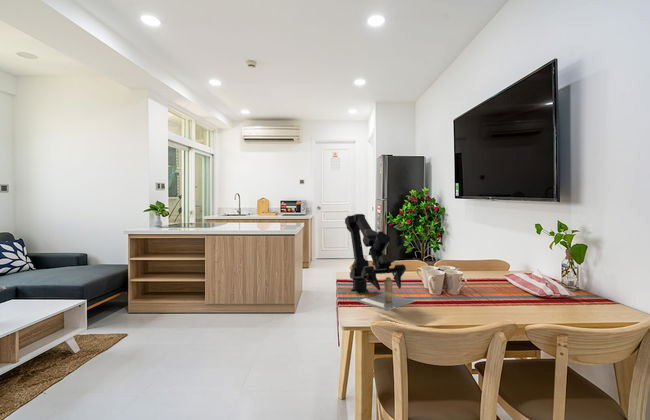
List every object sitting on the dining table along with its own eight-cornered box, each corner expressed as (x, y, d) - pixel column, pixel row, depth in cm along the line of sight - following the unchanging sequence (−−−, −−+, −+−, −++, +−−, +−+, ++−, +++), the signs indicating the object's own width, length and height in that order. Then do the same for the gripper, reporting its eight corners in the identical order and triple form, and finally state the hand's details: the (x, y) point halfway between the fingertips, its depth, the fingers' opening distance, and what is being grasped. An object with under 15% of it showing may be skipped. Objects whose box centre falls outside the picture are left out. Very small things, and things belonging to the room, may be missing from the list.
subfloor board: (356, 303, 145) (356, 300, 145) (385, 295, 158) (385, 292, 158) (386, 313, 132) (386, 310, 132) (416, 303, 145) (416, 300, 145)
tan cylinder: (382, 306, 138) (382, 277, 137) (390, 305, 139) (390, 276, 138) (386, 308, 134) (386, 279, 134) (394, 307, 135) (394, 278, 135)
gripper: (363, 247, 137) (374, 279, 127) (404, 245, 142) (418, 276, 132) (356, 262, 145) (366, 294, 134) (395, 260, 150) (407, 291, 140)
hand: (390, 289), depth 135 cm, fingers open, 9 cm apart
